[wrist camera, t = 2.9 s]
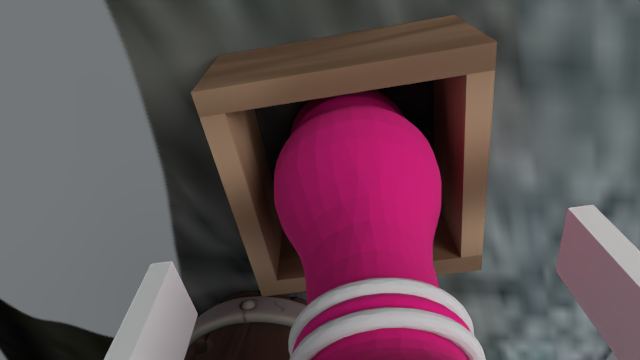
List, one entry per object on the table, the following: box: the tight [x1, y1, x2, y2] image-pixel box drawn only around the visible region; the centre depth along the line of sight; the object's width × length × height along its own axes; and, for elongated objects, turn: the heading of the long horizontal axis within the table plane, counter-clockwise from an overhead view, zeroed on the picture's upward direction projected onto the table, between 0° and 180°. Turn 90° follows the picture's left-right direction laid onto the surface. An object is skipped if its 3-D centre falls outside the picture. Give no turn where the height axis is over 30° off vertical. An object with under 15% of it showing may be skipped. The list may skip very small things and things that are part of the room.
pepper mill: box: [274, 90, 486, 360], centre depth 13 cm, size 7×7×20 cm
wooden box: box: [191, 15, 497, 297], centre depth 19 cm, size 11×11×5 cm
